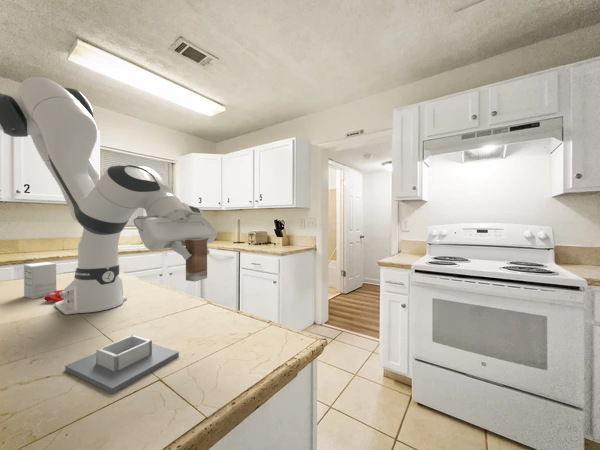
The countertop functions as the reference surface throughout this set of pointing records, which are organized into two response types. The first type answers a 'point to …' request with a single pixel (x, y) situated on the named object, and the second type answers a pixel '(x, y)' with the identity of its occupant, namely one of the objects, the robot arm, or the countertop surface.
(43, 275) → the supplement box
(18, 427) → the countertop surface
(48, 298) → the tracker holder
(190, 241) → the block
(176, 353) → the grey socket base
